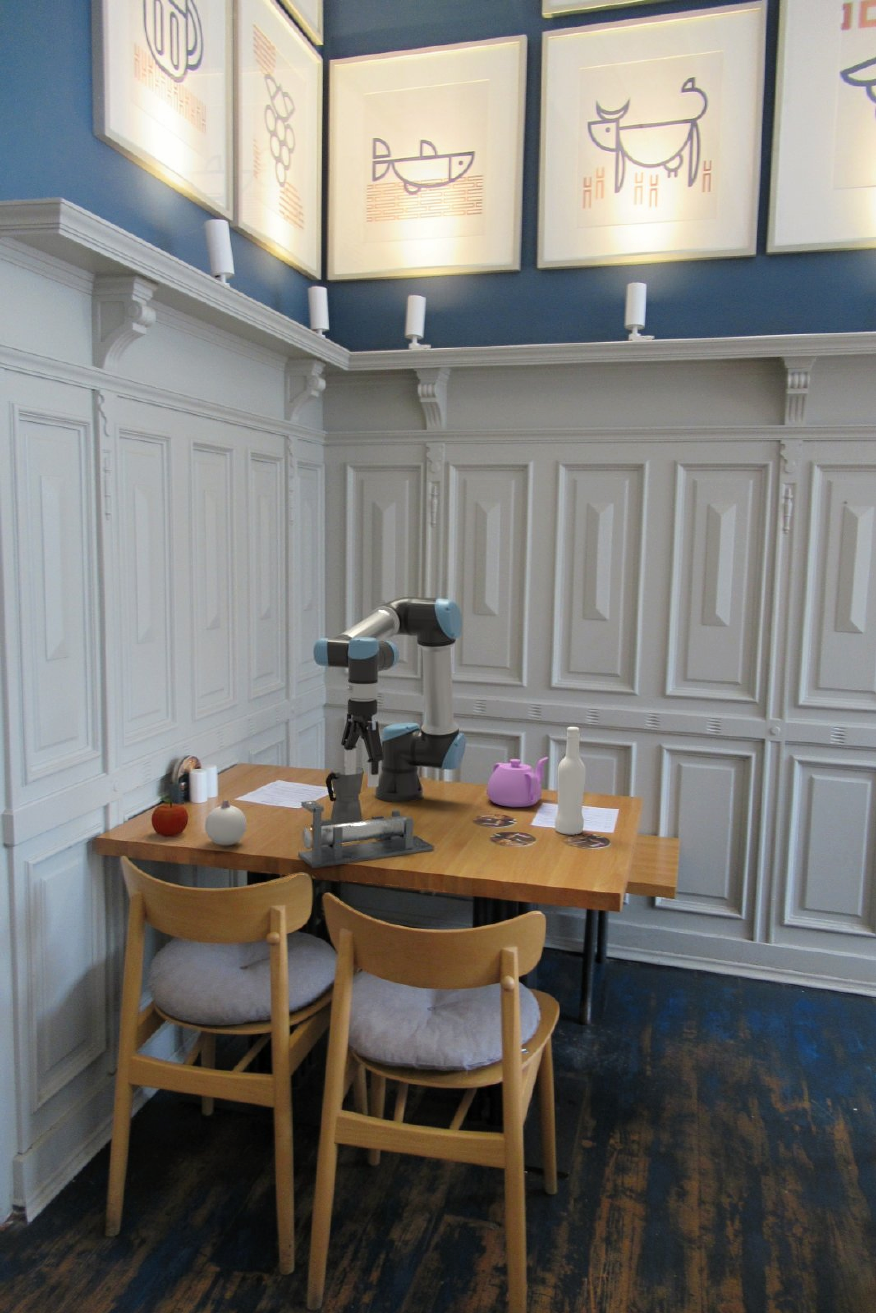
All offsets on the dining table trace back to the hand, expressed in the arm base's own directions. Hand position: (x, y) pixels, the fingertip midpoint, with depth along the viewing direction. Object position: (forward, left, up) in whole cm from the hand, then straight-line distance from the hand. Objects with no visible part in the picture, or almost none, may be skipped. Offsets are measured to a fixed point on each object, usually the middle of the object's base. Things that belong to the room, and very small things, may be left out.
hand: (361, 780), depth 244 cm
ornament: (+29, -21, -19) cm, 40 cm away
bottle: (-62, +7, -19) cm, 65 cm away
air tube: (+1, +1, -16) cm, 16 cm away
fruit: (+40, -35, -19) cm, 56 cm away
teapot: (-67, -25, -19) cm, 74 cm away
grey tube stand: (-2, +1, -19) cm, 19 cm away
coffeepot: (-7, -26, -19) cm, 33 cm away
